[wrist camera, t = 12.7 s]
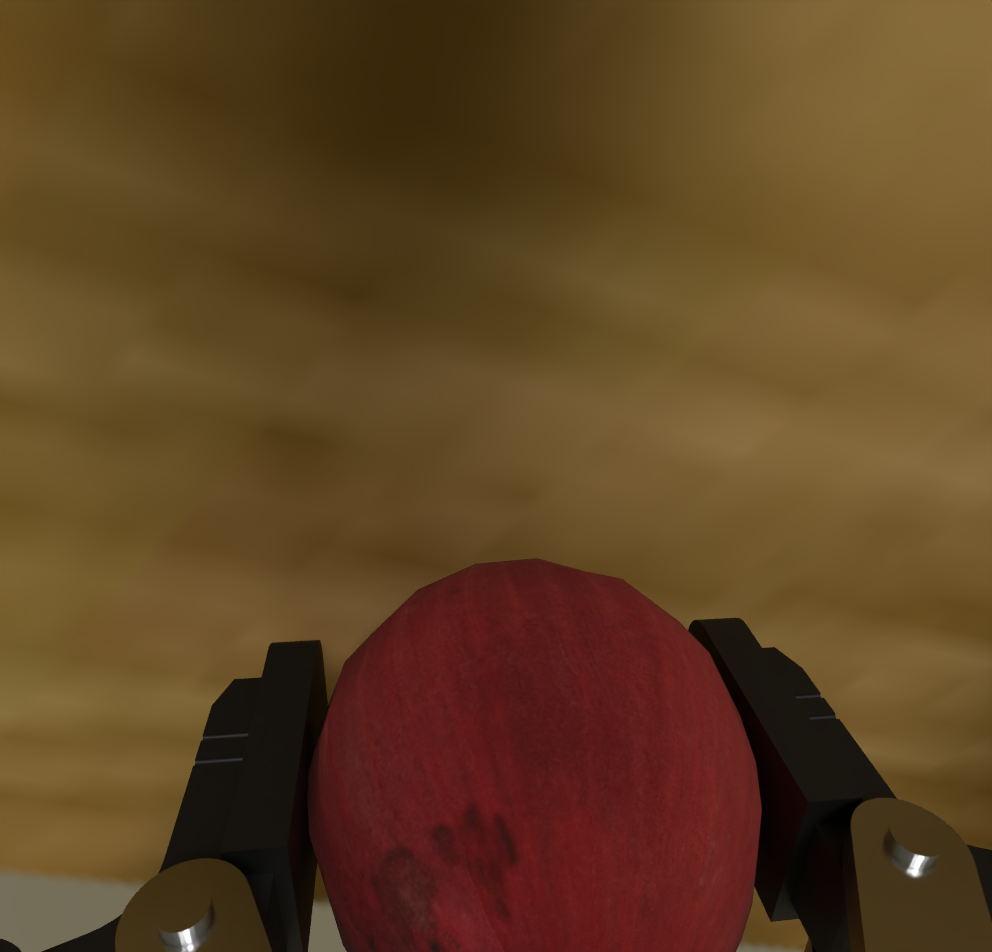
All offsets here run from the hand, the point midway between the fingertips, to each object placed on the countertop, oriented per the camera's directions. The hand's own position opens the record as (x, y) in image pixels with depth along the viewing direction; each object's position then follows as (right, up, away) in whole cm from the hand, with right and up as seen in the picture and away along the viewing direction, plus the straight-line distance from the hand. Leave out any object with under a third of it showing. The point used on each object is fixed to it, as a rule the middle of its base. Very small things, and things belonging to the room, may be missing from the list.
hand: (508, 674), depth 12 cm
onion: (0, +1, +2) cm, 2 cm away
